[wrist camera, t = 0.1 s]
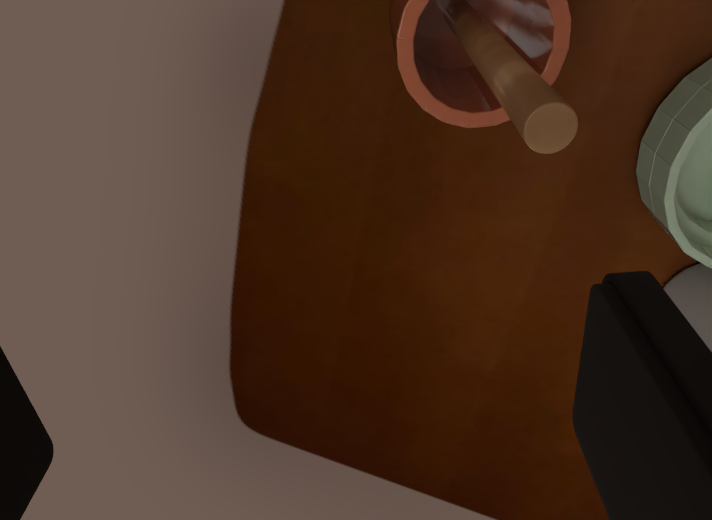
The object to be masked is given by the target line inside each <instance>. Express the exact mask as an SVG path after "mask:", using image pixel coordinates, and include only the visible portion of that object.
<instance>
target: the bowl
mask: <svg viewBox="0 0 712 520" xmlns="http://www.w3.org/2000/svg"><path fill="white" fill-rule="evenodd" d="M636 175H637V180H638V185H639V190H640V196H641V199H642V202H643V203H644V205H645V206H646V207H647V209H648V210H649V212H650V213H651V215H652V216H653V218H654V219H655V220H656V222H657V223H658V224H659V225H660V226H661V227H662V228H663V229H664V231H665V232H666V233H667V234H668V235H669V236H670V237H671V238H672V240H673V241H674V242H675V243H676V244H677V245H678V246H679V247H680V248H681V250H682V251H683V252H684V253H686V254H687V255H689V256H690V257H692V258H694V259H695V260H697V261H699V262H700V263H702V264H703V265H705V266H707V267H709V268H712V58H711V59H710V60H708V61H707V62H705V63H704V64H702V65H701V66H700V67H698V68H697V69H695V70H694V71H692V72H691V73H690V74H688V75H687V76H686V77H684V78H683V79H682V81H681V82H680V83H679V84H678V85H677V86H676V87H675V88H674V90H673V91H672V92H671V93H670V94H669V95H668V96H667V97H666V99H665V100H664V101H663V102H662V103H661V104H660V105H659V108H657V110H656V112H655V114H654V116H653V118H652V120H651V122H650V124H649V126H648V128H647V130H646V132H645V134H644V136H643V138H642V140H641V145H640V150H639V156H638V162H637V168H636Z"/></svg>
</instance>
